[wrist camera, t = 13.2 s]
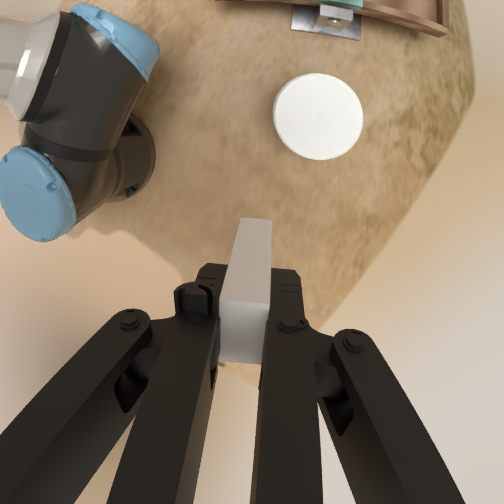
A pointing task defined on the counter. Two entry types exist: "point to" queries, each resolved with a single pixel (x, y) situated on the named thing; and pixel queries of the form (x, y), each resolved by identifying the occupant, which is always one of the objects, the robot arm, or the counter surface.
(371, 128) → the counter surface
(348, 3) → the beam
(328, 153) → the supplement tub
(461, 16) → the counter surface
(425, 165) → the counter surface
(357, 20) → the stand
